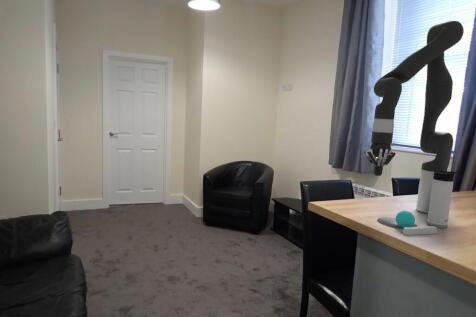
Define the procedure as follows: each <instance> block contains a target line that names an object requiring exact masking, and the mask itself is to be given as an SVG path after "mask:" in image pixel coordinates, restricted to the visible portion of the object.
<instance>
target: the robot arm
mask: <svg viewBox="0 0 476 317" xmlns="http://www.w3.org/2000/svg"><path fill="white" fill-rule="evenodd" d="M464 32H465V30H464V26H463V24H462V22H460V21H458V20H448V21H444V22H441V23H437V24H434V25H433V26H431V27H430V28H428V32H427V35H426V45H424V46H423V47H422V48H419V49H418V50H416V51H415V52H413V53H411V54H410V55H409V56H407V57H406V58H405V59H403V60H402V61H401V62H400V63H399V64H398V65H397V66H396V67H395V68H393V69H392V70H391V71H389V72H388V73H385V74H384V75H383V76H381V77H380V78H378V80H377V81H376V82H375V84H374V86H373V92H374V94H375V96H377V97H378V98H382V99H381V102H380V103H378V104H376V106H375V108H374V119H373V123H372V128H371V129H372V130H371V139H370V143H371V145H370V147H369V149H368V150H365V151H364V154H365V157H366V158H367V160H368V163H369V164H371V165H373V166H374V168H373V174H374V176H377V177H381V176H382V175H383V168H384V166H387V165H389V163H391V161H392V160H393V159H394V157H395V156H396V152H394V151H393V150H392V146H391V145H392V143H393V136H394V128H395V112H396V107H398V106H397V105H398V104H399V100H400V98H401V95H402V92H403V86H402V85H403V84H405V83H408V82H409V81H410V80H412V78H414V77H415V76H416V75H417V74H418V73H419V72H420V71H421V70H423V68H425V67H426V66H427V67H426V82H425V93H424V97H425V98H424V111H423V120H422V127H421V133H420V140H419V146H420V150H421V151H422V152H423V153H426V154H430V155H431V154H432V155H435V157H434V159H431V160H429V161H424V162H422V164H421V169H420V176H419V177H420V178H419V184H418V192H417V200H416V210H417V211H418V212H420V213H425V214H428V212H429V205H430V197H431V190H432V182H433V177H434V172H437V171H448V168H449V166H450V162H451V157H452V152H453V148H454V137H453V134H451V132H446V131H436V126H437V122H438V120H439V117H440V116H441V114H442V113H443V112H444V111H445V109H447V107H448V105H449V104H450V102H451V100H452V97H453V86H454V84H453V83H454V82H453V77H452V75H451V73H450V71H449V69H448V68H447V65H446V61H445V52H446V51H447V50H449V49H450V48H452V47H454V46H455V45H456V44H458V43H459V42H460V41H461V40H462V38H463V36H464Z"/></svg>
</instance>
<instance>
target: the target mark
mask: <svg viewBox="0 0 476 317" xmlns="http://www.w3.org/2000/svg"><path fill="white" fill-rule="evenodd" d="M377 222H378V223H379V224H381V225H383V226H387V227H389V228H390V227H391V228H395V229H399V230H400V229H401V230H404V228H402V227H400V226H399V225H398V224H397V222H396V217H391V216H389V217H387V216H386V217H383V216H382V217H379V218H377ZM412 227H418V225H417V224H416V222H415V223H414V225H413V226H412Z"/></svg>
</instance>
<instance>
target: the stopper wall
mask: <svg viewBox="0 0 476 317" xmlns="http://www.w3.org/2000/svg"><path fill="white" fill-rule="evenodd" d="M402 230H403V231H402V233H403V234H404V235H406V236H410V235H433V234H434V235H435V234H437V231H438V228H437V227H434V226H430V225H427V226H417V227H404V229H402Z"/></svg>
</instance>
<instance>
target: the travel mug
mask: <svg viewBox="0 0 476 317" xmlns="http://www.w3.org/2000/svg"><path fill="white" fill-rule="evenodd" d="M456 173H457V172H456V171H453V170H452V171H451V170H450V171H449V170H447V171H437V172H434V177H433V182H432V190H431V197H430V205H429V212H428V213H427V221H426V224H427V226H434V227H437V229H446V228H447V227H448V222H449V217H450V209H451V202H452V193H453V190H454V189H453V186H454V179H455V175H456Z"/></svg>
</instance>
